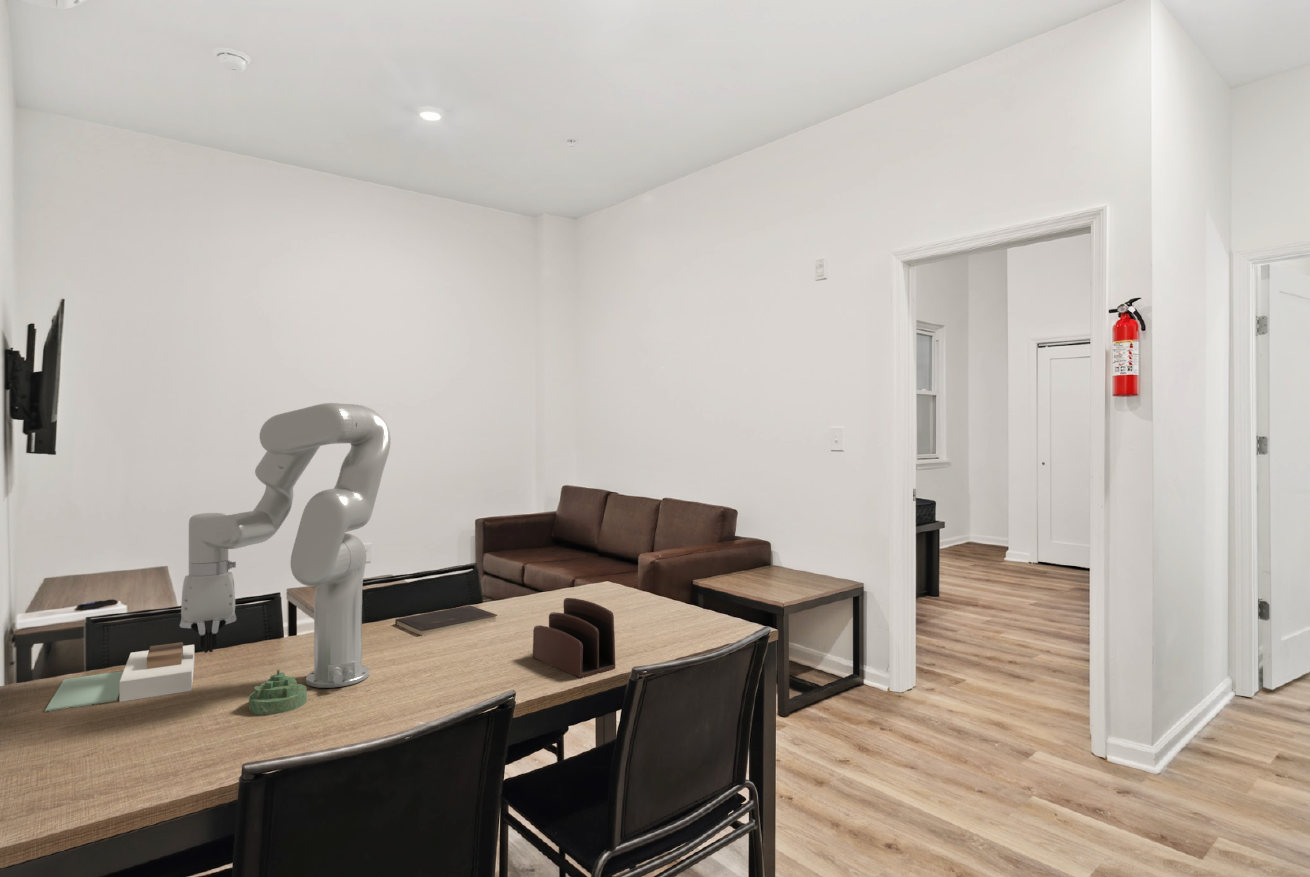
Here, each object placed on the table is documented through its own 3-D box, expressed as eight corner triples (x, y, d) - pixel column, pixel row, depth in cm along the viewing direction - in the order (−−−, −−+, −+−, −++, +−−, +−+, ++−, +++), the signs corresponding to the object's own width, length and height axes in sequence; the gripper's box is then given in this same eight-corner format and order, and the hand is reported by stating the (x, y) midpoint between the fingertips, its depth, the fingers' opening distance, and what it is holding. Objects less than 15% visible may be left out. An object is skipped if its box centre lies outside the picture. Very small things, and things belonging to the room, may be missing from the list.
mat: (116, 700, 141) (116, 698, 141) (45, 712, 135) (45, 710, 135) (127, 672, 158) (127, 670, 158) (64, 681, 152) (64, 679, 152)
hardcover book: (497, 622, 203) (497, 614, 203) (421, 638, 187) (421, 630, 187) (468, 612, 214) (468, 604, 214) (395, 626, 198) (395, 618, 198)
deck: (191, 690, 147) (191, 671, 147) (119, 702, 141) (119, 682, 141) (194, 661, 166) (194, 644, 166) (130, 670, 159) (130, 652, 159)
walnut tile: (181, 664, 151) (181, 652, 151) (146, 669, 148) (146, 657, 148) (182, 653, 159) (182, 642, 159) (150, 657, 156) (150, 646, 156)
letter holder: (566, 649, 177) (566, 593, 176) (616, 669, 162) (616, 608, 162) (531, 658, 170) (532, 599, 170) (580, 679, 155) (580, 615, 155)
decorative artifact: (316, 696, 145) (268, 695, 145) (316, 662, 144) (268, 661, 145) (289, 716, 135) (237, 715, 135) (289, 679, 135) (237, 678, 135)
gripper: (246, 563, 165) (246, 641, 165) (169, 569, 157) (169, 651, 157) (247, 568, 158) (247, 650, 159) (167, 575, 151) (166, 661, 151)
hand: (208, 650), depth 158 cm, fingers closed
